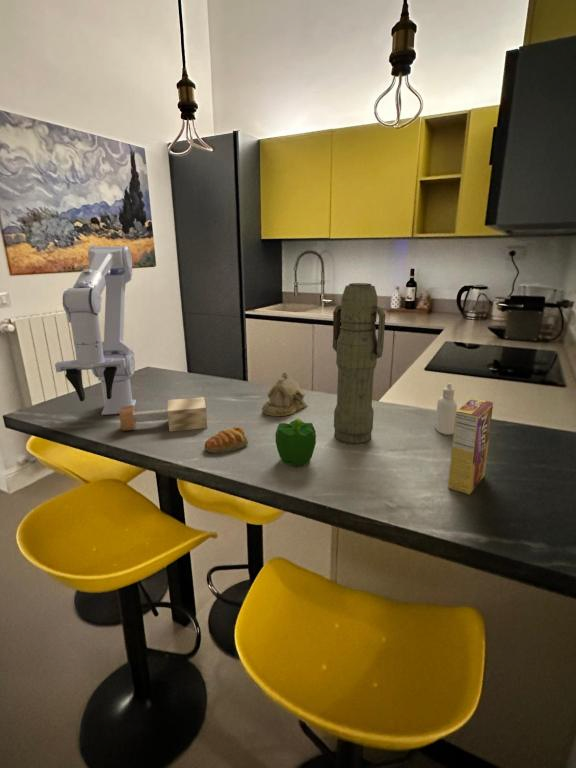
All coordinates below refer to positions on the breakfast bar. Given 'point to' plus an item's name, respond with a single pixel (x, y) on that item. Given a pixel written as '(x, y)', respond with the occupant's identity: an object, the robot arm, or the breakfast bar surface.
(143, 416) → the shaft
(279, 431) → the bell pepper
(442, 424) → the eye dropper bottle
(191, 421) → the block
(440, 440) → the breakfast bar surface
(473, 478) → the candy box
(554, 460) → the breakfast bar surface
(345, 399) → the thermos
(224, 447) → the pastry
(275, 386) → the ceramic model
